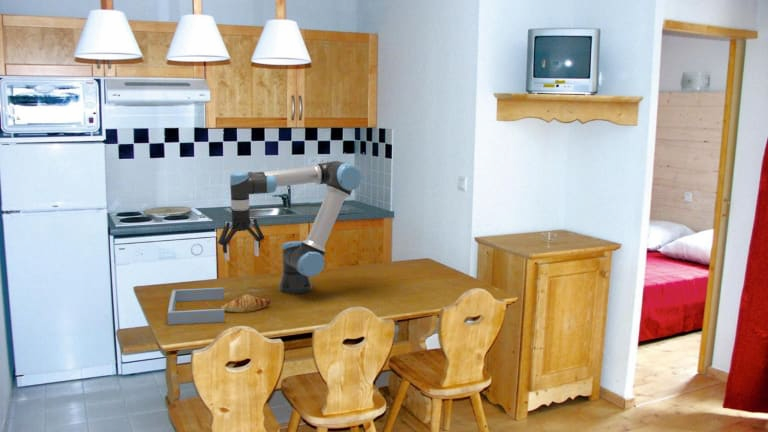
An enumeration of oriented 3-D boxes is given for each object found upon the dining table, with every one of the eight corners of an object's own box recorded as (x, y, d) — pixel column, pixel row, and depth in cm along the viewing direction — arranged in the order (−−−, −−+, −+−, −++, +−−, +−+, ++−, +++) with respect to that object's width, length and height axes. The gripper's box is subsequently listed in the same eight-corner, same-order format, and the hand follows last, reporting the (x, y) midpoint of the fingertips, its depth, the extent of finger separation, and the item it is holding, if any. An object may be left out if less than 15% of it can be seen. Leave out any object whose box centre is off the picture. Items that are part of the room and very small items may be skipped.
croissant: (222, 322, 294) (223, 308, 289) (218, 305, 301) (219, 291, 296) (272, 315, 302) (274, 301, 298) (266, 299, 310) (268, 285, 305)
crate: (223, 298, 315) (223, 287, 314) (224, 321, 283) (224, 309, 283) (172, 300, 310) (172, 289, 309) (167, 324, 278) (167, 312, 278)
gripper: (263, 204, 307) (264, 252, 311) (208, 210, 293) (211, 260, 297) (271, 207, 301) (272, 255, 305) (216, 213, 287) (218, 263, 291)
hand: (242, 257), depth 301 cm, fingers open, 13 cm apart
